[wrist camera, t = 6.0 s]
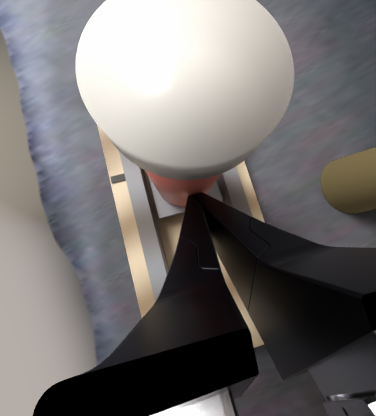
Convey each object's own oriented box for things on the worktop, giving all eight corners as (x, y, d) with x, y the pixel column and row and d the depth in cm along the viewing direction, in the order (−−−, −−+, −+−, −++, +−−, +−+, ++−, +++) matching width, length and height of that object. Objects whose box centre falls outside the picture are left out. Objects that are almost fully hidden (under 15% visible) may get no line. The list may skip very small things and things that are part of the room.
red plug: (220, 204, 14) (325, 135, 4) (161, 220, 13) (101, 192, 3) (203, 148, 14) (254, -40, 4) (146, 162, 14) (57, -8, 4)
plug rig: (285, 317, 15) (353, 375, 9) (159, 360, 14) (144, 456, 8) (215, 105, 18) (233, 42, 12) (105, 130, 17) (64, 75, 11)
